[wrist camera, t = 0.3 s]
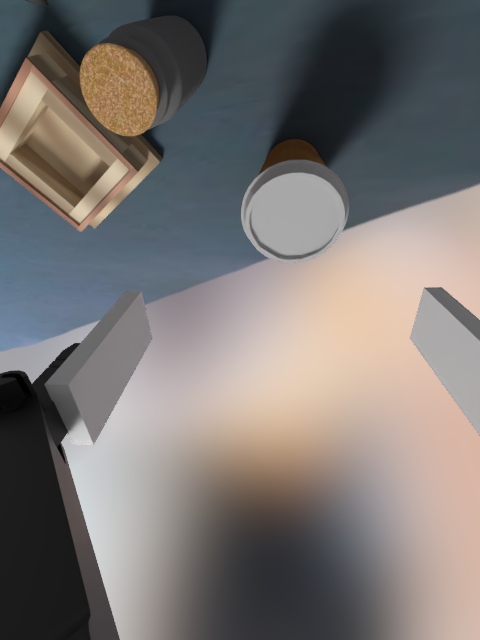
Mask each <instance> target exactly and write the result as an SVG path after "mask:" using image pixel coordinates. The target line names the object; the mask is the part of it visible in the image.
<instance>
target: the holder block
mask: <svg viewBox="0 0 480 640" xmlns="http://www.w3.org/2000/svg"><path fill="white" fill-rule="evenodd" d="M162 159H163V158H162V157H161V156H160V154H159V153H158V152H157V151H156V150H155V149H154V148H153V147H152V146H151V144H150V143H149V142H148V141H147V140H146V139H145V138H144V137H143V136H142V135H141V134H139V135H136V136H123V135H119V134H116V133H114V132H112V131H111V130H109V129H107V128H106V127H105V126H104V125H102V124H101V123H100V122H99V121H98V120H97V119H96V117H95V116H94V115H93V114H92V112H91V111H90V109H89V107H88V106H87V104H86V101H85V99H84V97H83V94H82V90H81V85H80V66H79V65H78V64H77V63H76V62H75V61H74V59H73V58H72V57H71V56H70V55H69V54H68V53H67V52H66V51H65V49H64V48H63V47H62V46H61V45H60V44H59V43H58V42H57V41H56V40H55V38H54V37H53V36H52V35H51V34H50V33H49V32H48V31H42V32H40V34H39V36H38V38H37V40H36V42H35V44H34V45H33V47H32V49H31V51H30V53H29V55H28V57H26V58H25V60H24V62H23V64H22V66H21V68H20V70H19V72H18V74H17V76H16V78H15V80H14V82H13V84H12V86H11V88H10V90H9V92H8V94H7V96H6V98H5V100H4V102H3V104H2V106H1V108H0V168H1V169H3V170H4V171H5V172H6V173H8V174H9V175H10V176H11V177H13V178H14V179H15V180H16V181H18V182H19V183H20V184H21V185H23V186H24V187H25V188H26V189H28V190H29V191H30V192H31V193H33V194H34V195H35V196H36V197H38V198H39V199H40V200H41V201H43V202H44V203H45V204H46V205H48V206H49V207H50V208H51V209H52V210H54V211H55V212H56V213H57V214H59V215H60V216H61V217H62V218H64V219H65V220H66V221H67V222H69V223H70V224H71V225H72V226H74V227H75V228H76V229H77V230H79V231H80V232H82V231H83V229H84V228H85V227H86V226H87V225H88V224H90V225H91V226H92V227H93V228H94V229H95V228H96V227H97V226H98V225H99V224H100V223H101V222H102V221H103V220H104V219H105V218H106V217H107V216H108V215H109V213H110V212H111V211H112V210H113V209H114V208H115V207H116V206H117V205H118V204H119V203H120V202H121V201H122V200H123V199H124V198H125V197H126V196H127V195H128V194H129V193H130V192H131V191H132V190H133V189H134V188H135V187H136V186H137V185H138V184H139V183H140V182H141V181H142V180H143V179H144V178H145V177H146V176H147V175H148V174H149V173H150V172H151V171H152V170H153V169H154V168H155V167H156V166H157V165H158V164H159V163H160V162H161V160H162Z"/></svg>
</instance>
